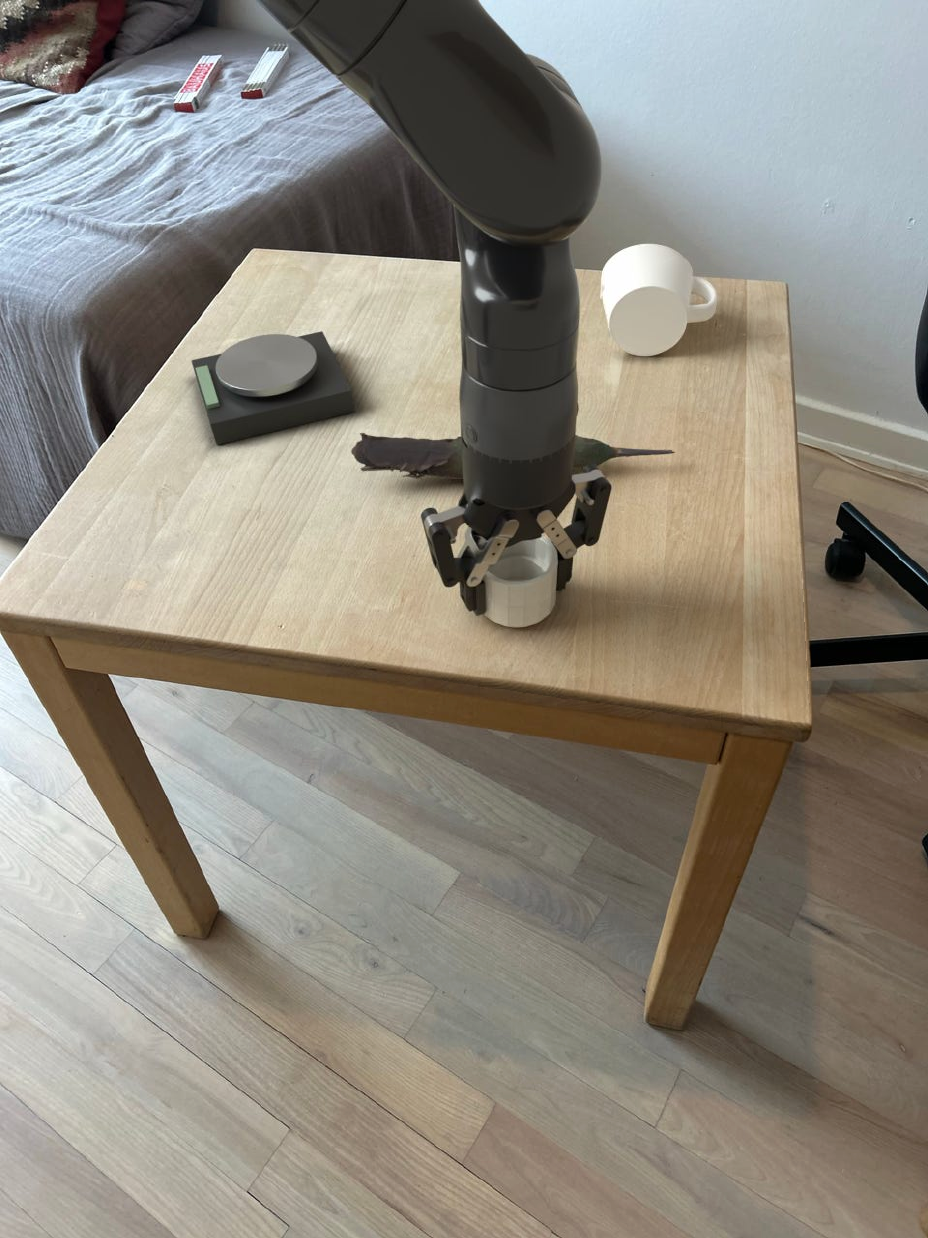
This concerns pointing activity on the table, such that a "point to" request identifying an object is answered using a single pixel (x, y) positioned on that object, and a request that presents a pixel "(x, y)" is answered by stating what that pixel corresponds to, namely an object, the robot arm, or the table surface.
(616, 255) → the mug
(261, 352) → the pan
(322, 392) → the scale
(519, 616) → the white cup
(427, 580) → the table surface
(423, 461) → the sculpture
